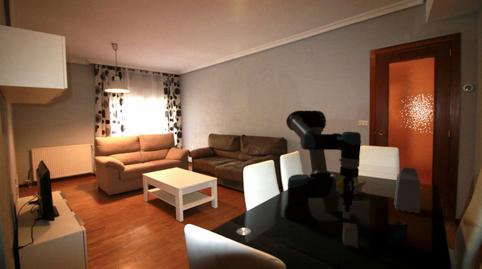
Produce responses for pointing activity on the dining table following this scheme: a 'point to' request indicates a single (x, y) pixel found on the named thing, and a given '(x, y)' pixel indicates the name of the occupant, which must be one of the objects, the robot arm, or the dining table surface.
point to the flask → (397, 232)
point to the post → (350, 245)
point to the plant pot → (332, 202)
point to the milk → (407, 191)
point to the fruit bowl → (356, 185)
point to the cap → (350, 234)
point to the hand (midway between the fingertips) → (346, 217)
